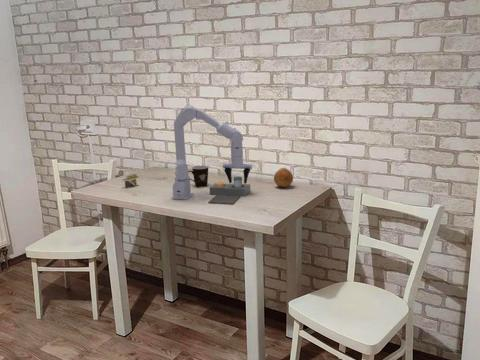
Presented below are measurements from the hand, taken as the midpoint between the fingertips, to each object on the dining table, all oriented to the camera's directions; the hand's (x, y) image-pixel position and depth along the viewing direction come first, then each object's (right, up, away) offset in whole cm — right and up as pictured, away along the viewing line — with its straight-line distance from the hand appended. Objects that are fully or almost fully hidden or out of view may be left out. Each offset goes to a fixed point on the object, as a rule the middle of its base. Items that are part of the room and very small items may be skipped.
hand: (237, 182), depth 225 cm
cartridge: (0, -5, +1) cm, 5 cm away
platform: (-57, -3, +21) cm, 61 cm away
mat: (-6, -8, -10) cm, 14 cm away
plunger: (-9, -4, +4) cm, 10 cm away
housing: (-4, -5, +2) cm, 7 cm away
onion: (+23, -2, +10) cm, 26 cm away
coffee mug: (-21, -2, +18) cm, 28 cm away
